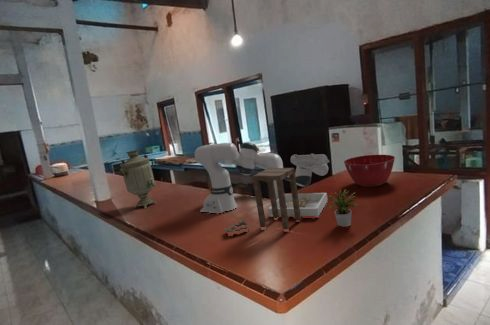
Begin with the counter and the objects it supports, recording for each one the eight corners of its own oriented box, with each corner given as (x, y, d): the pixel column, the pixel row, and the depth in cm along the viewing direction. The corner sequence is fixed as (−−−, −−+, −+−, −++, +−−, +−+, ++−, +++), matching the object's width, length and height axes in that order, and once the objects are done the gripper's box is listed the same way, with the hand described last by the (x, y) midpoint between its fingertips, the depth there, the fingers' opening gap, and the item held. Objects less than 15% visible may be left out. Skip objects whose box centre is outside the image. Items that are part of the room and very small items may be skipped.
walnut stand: (275, 218, 153) (268, 168, 149) (301, 221, 145) (294, 167, 140) (260, 230, 142) (252, 176, 138) (287, 233, 134) (279, 175, 129)
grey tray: (269, 217, 156) (268, 208, 155) (283, 202, 177) (282, 193, 176) (318, 218, 145) (317, 208, 144) (327, 201, 166) (326, 192, 165)
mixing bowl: (336, 186, 192) (333, 162, 189) (369, 175, 203) (367, 152, 201) (372, 194, 166) (369, 166, 164) (408, 181, 178) (406, 155, 175)
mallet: (303, 201, 170) (302, 194, 169) (312, 202, 166) (312, 195, 165) (289, 210, 160) (288, 202, 159) (299, 211, 155) (298, 203, 155)
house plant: (337, 236, 124) (332, 197, 121) (319, 225, 137) (315, 190, 134) (367, 227, 127) (363, 189, 124) (347, 217, 140) (343, 183, 138)
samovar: (132, 216, 197) (118, 155, 190) (119, 210, 217) (106, 155, 210) (174, 202, 215) (162, 146, 208) (158, 197, 235) (147, 146, 229)
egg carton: (246, 227, 148) (245, 219, 148) (250, 233, 141) (249, 224, 141) (225, 232, 146) (223, 224, 146) (227, 238, 139) (226, 230, 138)
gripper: (330, 167, 168) (320, 160, 157) (296, 168, 180) (285, 161, 169) (331, 156, 170) (322, 148, 159) (297, 158, 182) (286, 150, 171)
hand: (302, 155), depth 164 cm, fingers open, 8 cm apart
